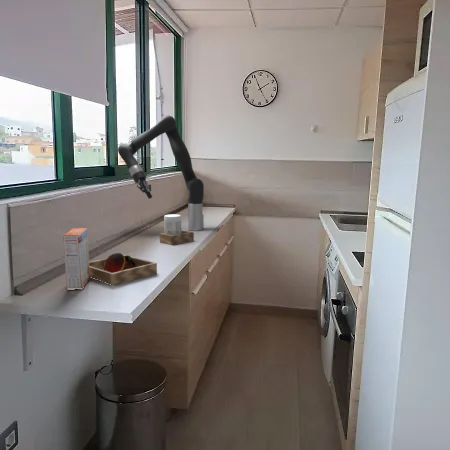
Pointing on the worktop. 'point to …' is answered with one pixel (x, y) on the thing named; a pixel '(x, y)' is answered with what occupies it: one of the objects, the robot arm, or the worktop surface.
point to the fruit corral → (138, 271)
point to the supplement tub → (172, 224)
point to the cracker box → (76, 257)
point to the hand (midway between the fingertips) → (150, 197)
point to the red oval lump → (118, 263)
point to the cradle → (177, 238)
